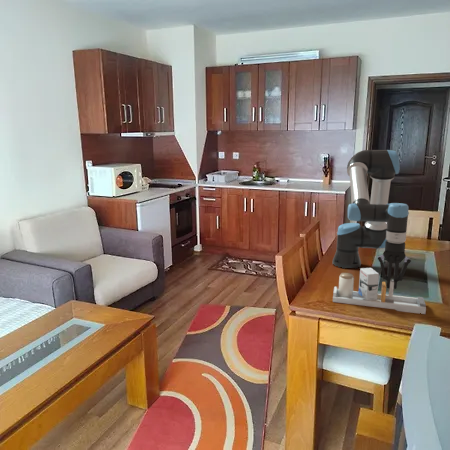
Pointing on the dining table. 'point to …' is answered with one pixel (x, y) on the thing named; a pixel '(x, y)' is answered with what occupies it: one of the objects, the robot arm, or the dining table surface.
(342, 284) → the jar
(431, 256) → the dining table surface
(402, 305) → the tray
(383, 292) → the pusher
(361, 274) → the ink box
